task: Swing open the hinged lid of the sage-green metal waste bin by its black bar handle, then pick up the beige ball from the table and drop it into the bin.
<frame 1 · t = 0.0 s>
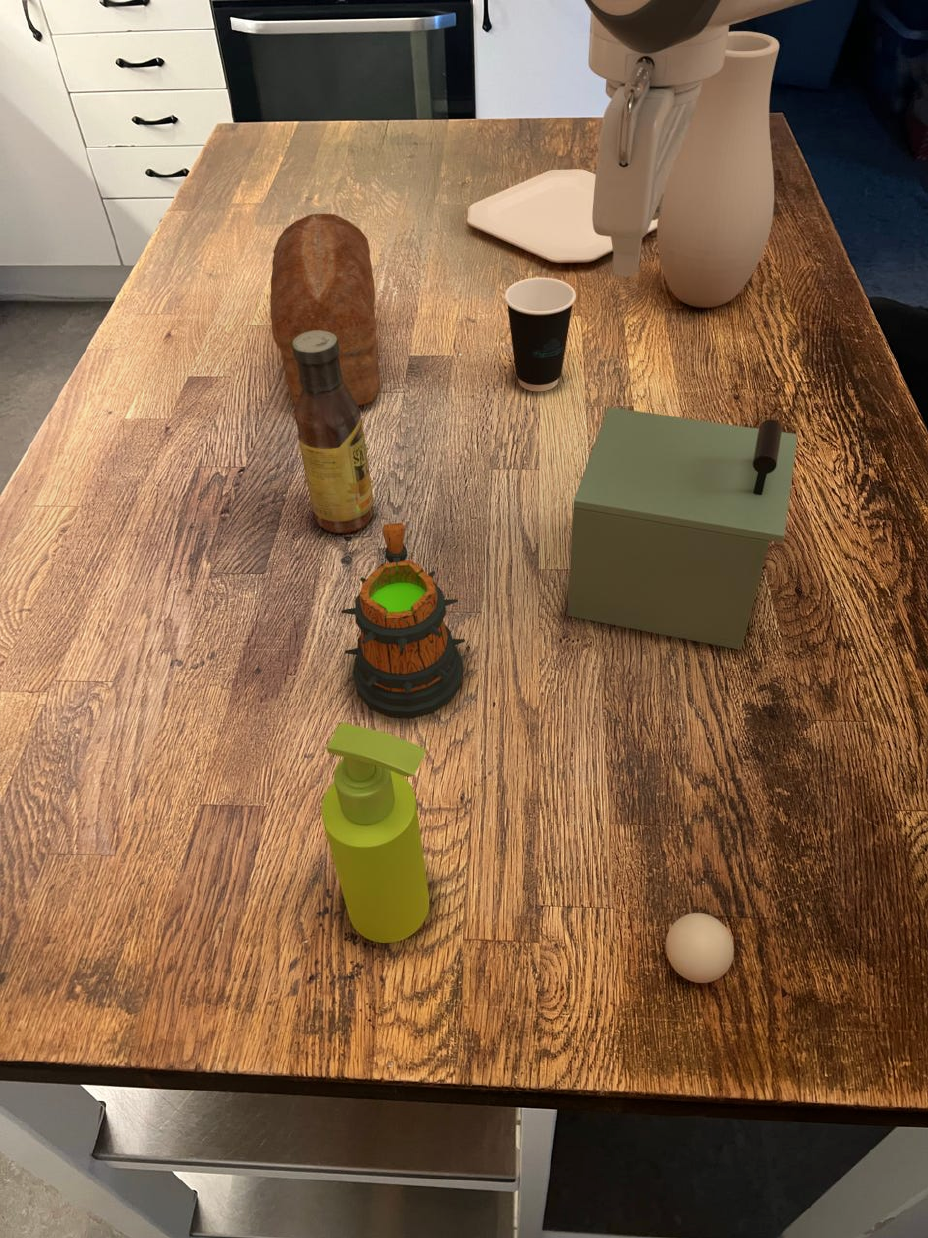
hand: (638, 242, 72), 30 cm above the kitchen island, tool pointing down, fingers open, 8 cm apart
bread: (334, 357, 120), on the kitchen island
vase: (702, 299, 126), on the kitchen island
soap dispenser: (395, 907, 69), on the kitchen island
mug: (407, 663, 85), on the kitchen island
dixie cup: (538, 381, 115), on the kitchen island
bin: (664, 581, 90), on the kitchen island
plate: (568, 226, 142), on the kitchen island
beige ball: (699, 947, 64), point 2 cm above the kitchen island
sauce bottle: (345, 517, 99), on the kitchen island
bin lid: (691, 450, 79), point 15 cm above the kitchen island, hinge at 0.0°
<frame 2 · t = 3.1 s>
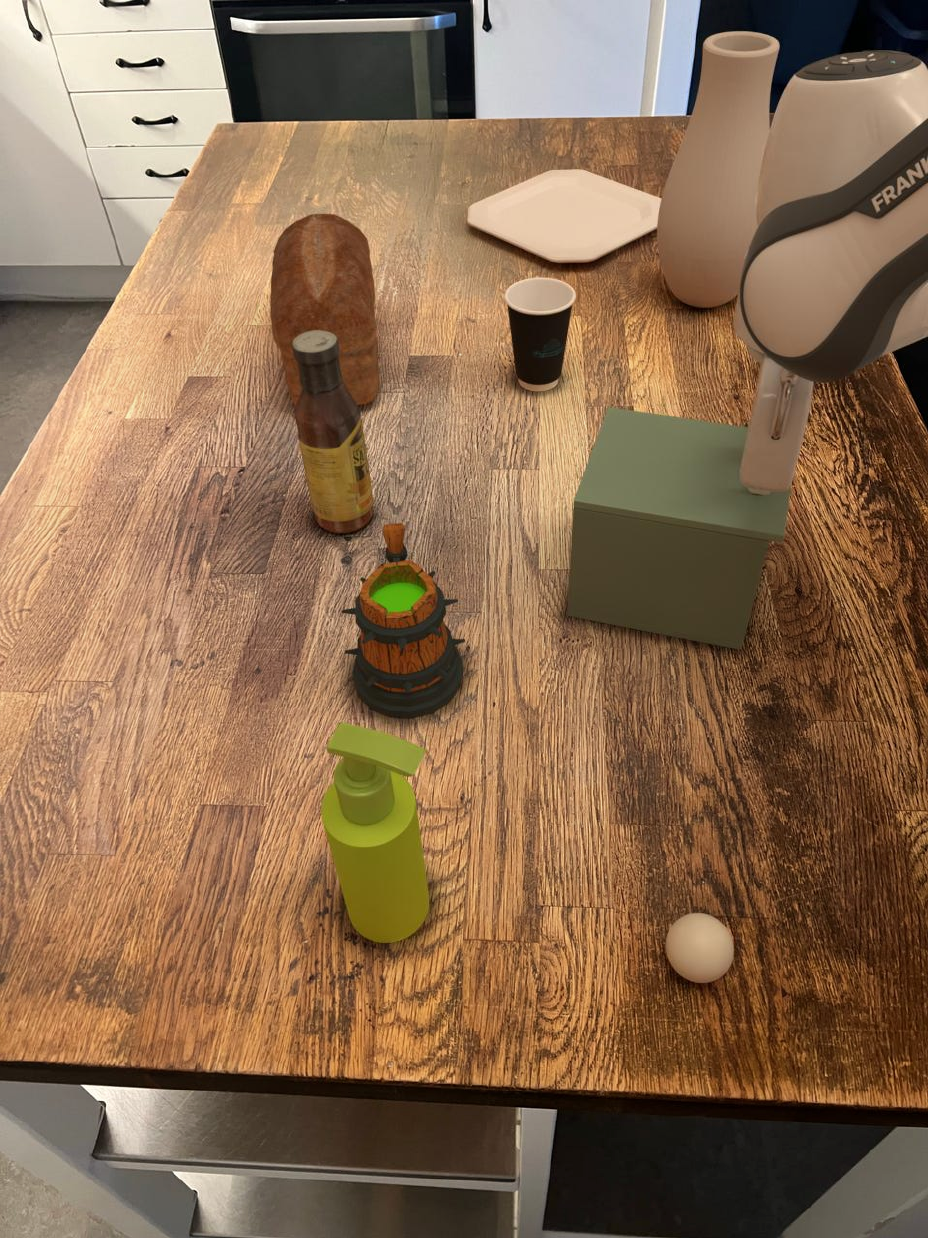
hand: (763, 464, 78), 15 cm above the kitchen island, tool pointing down, fingers closed on bin lid, 5 cm apart
bin lid: (691, 450, 79), point 15 cm above the kitchen island, hinge at 0.0°, touching gripper
everything else where it was.
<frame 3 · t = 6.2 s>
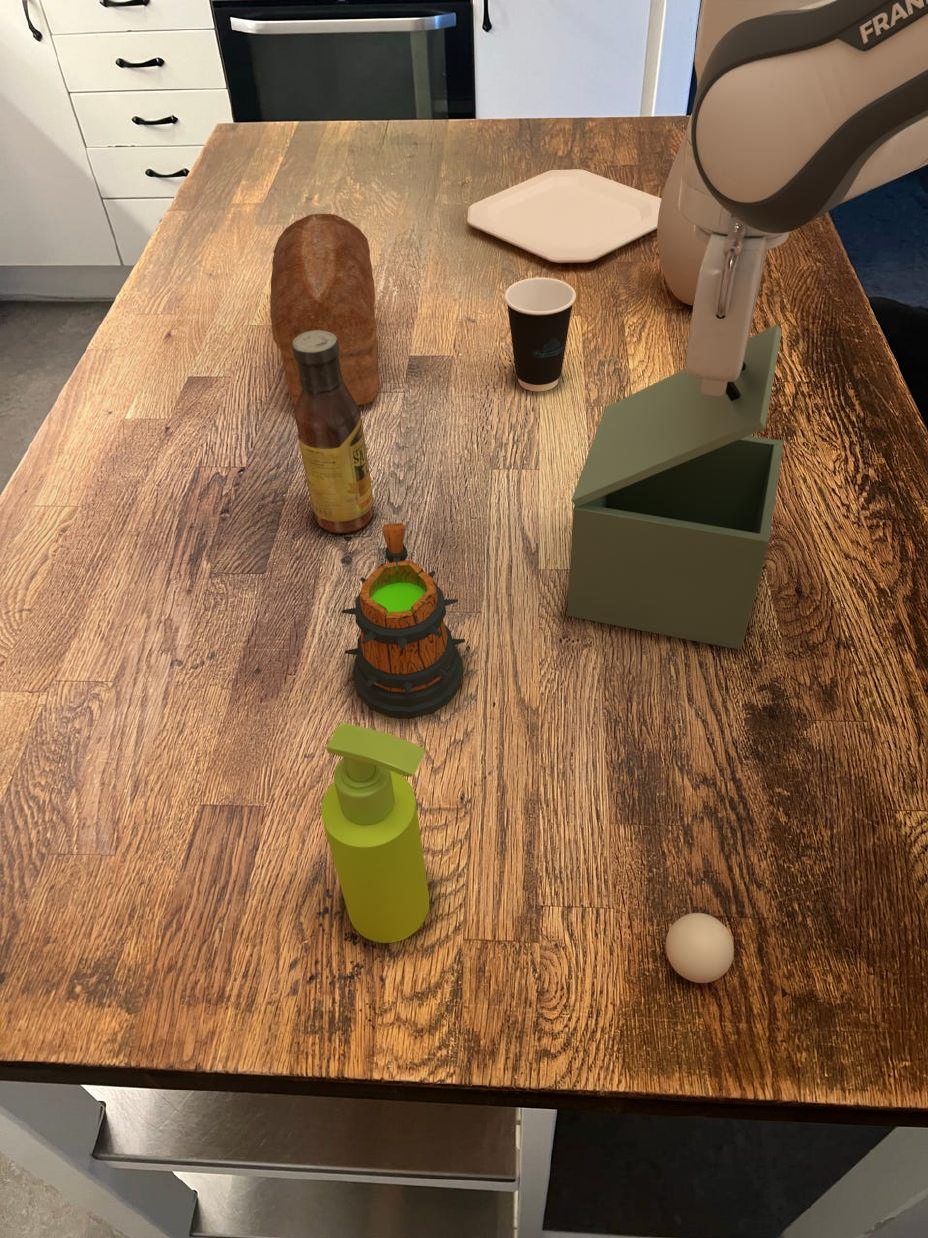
hand: (719, 367, 73), 23 cm above the kitchen island, tool pointing down, fingers closed on bin lid, 5 cm apart
bin lid: (662, 397, 76), point 20 cm above the kitchen island, hinge at 37.4°, touching gripper
everything else where it was.
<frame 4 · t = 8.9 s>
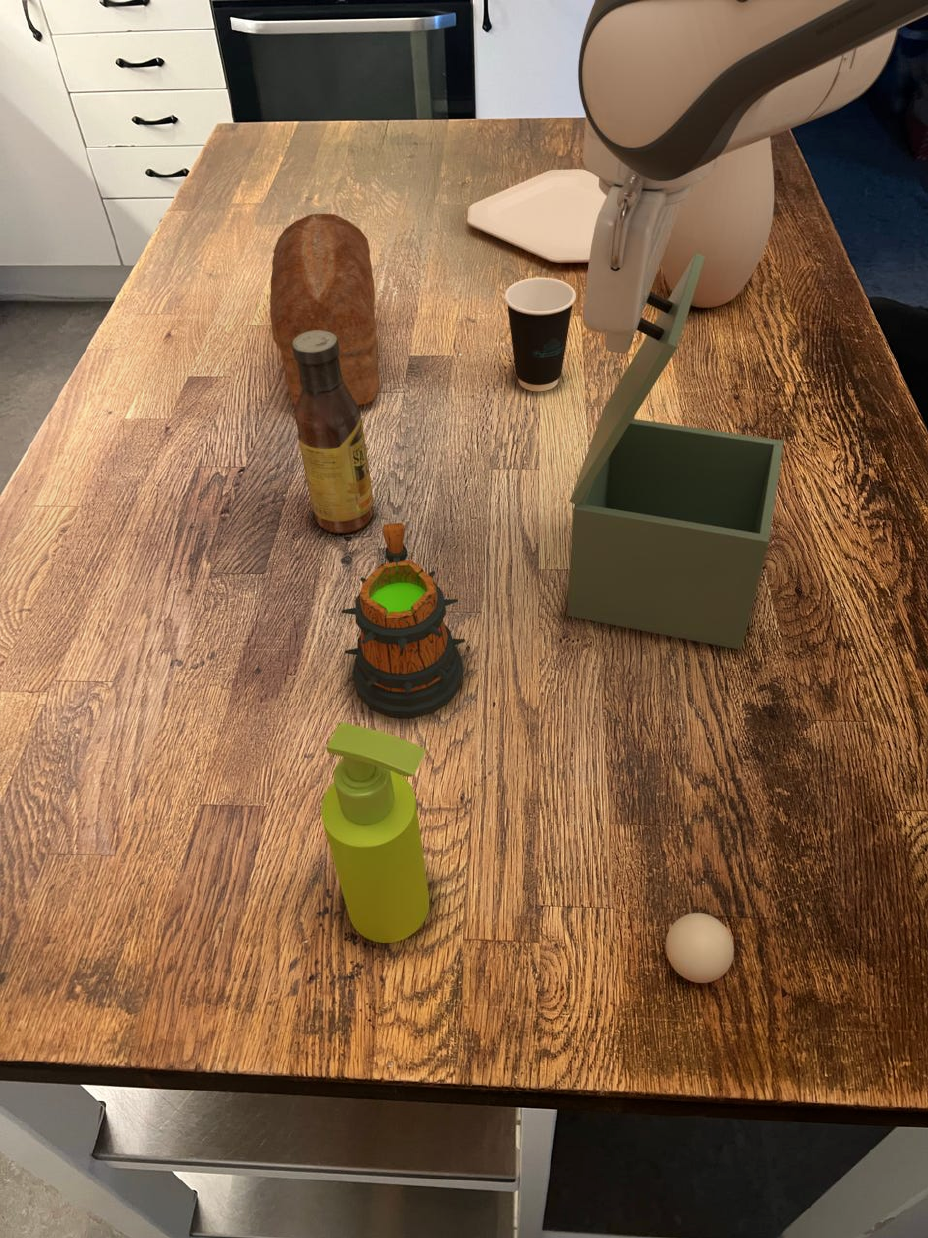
hand: (627, 325, 73), 26 cm above the kitchen island, tool pointing down, fingers closed on bin lid, 5 cm apart
bin lid: (613, 370, 76), point 22 cm above the kitchen island, hinge at 68.0°, touching gripper
everything else where it was.
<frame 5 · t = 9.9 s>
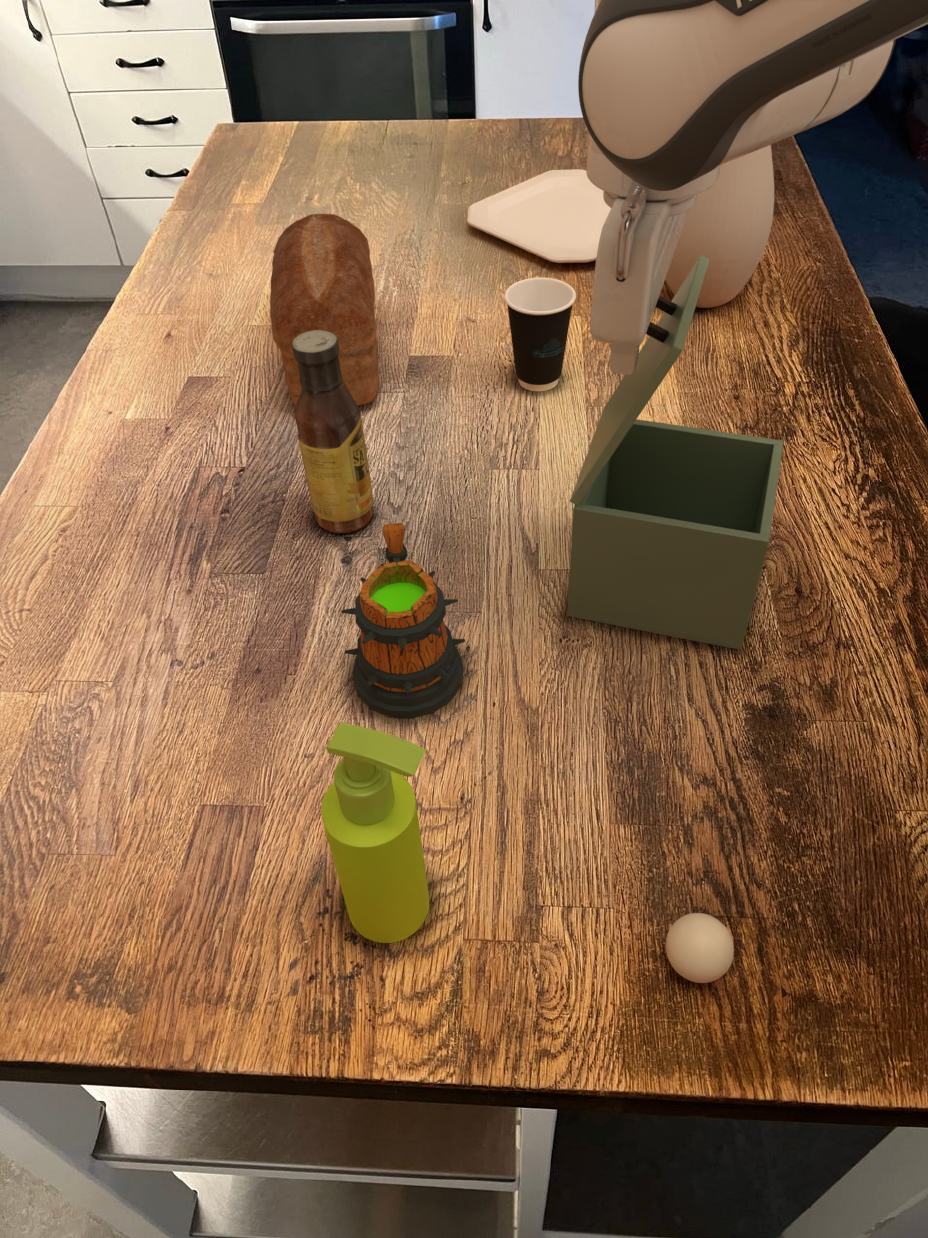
hand: (635, 336, 73), 25 cm above the kitchen island, tool pointing down, fingers open, 8 cm apart
bin lid: (615, 371, 76), point 22 cm above the kitchen island, hinge at 66.6°
everything else where it was.
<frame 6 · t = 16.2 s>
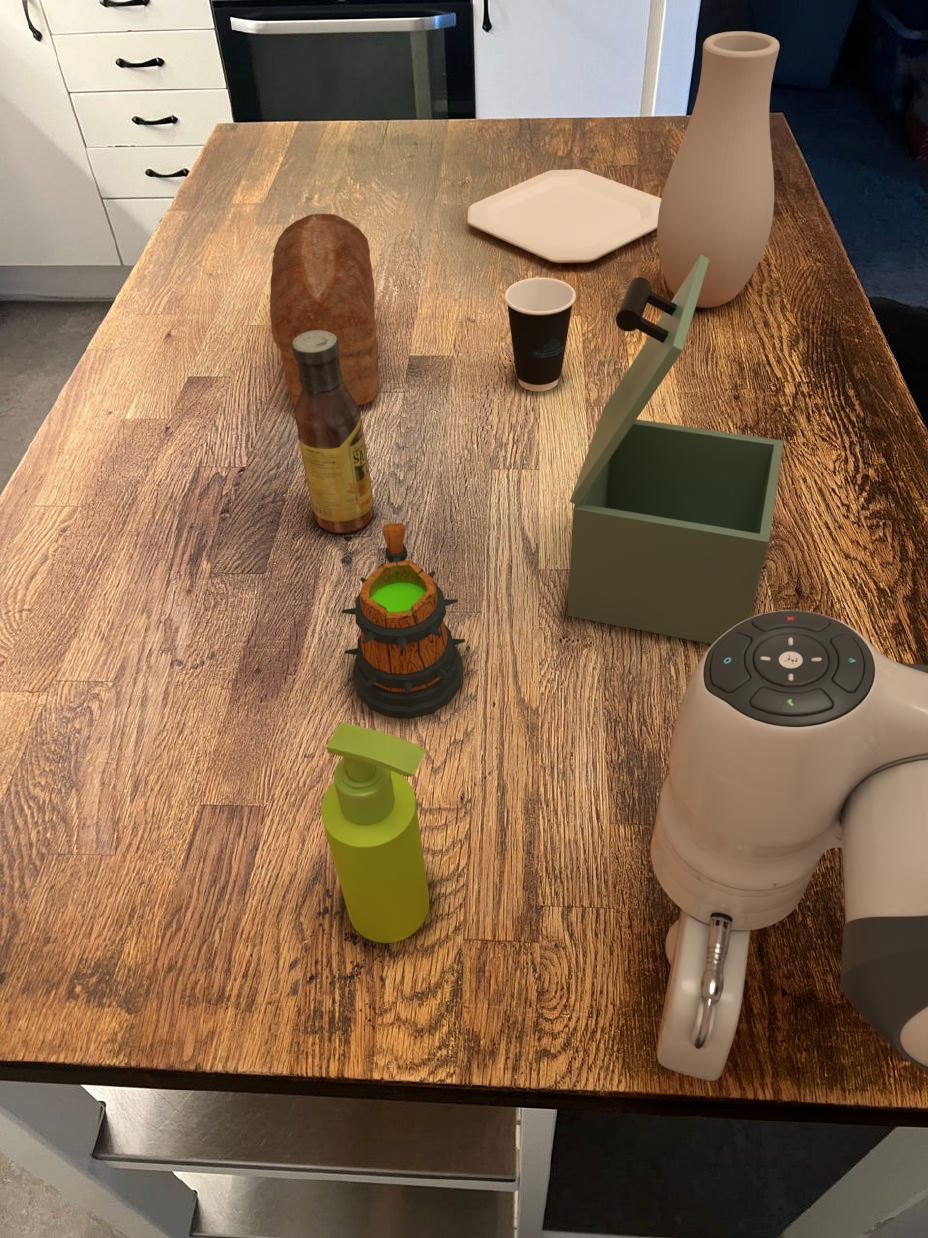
hand: (698, 951, 64), 2 cm above the kitchen island, tool pointing down, fingers closed on beige ball, 4 cm apart
beige ball: (699, 948, 64), point 2 cm above the kitchen island, touching gripper
everything else where it was.
when the fingers open (16 cm above the kitchen island, at t = 23.7 s): beige ball drops 14 cm, resting on bin.
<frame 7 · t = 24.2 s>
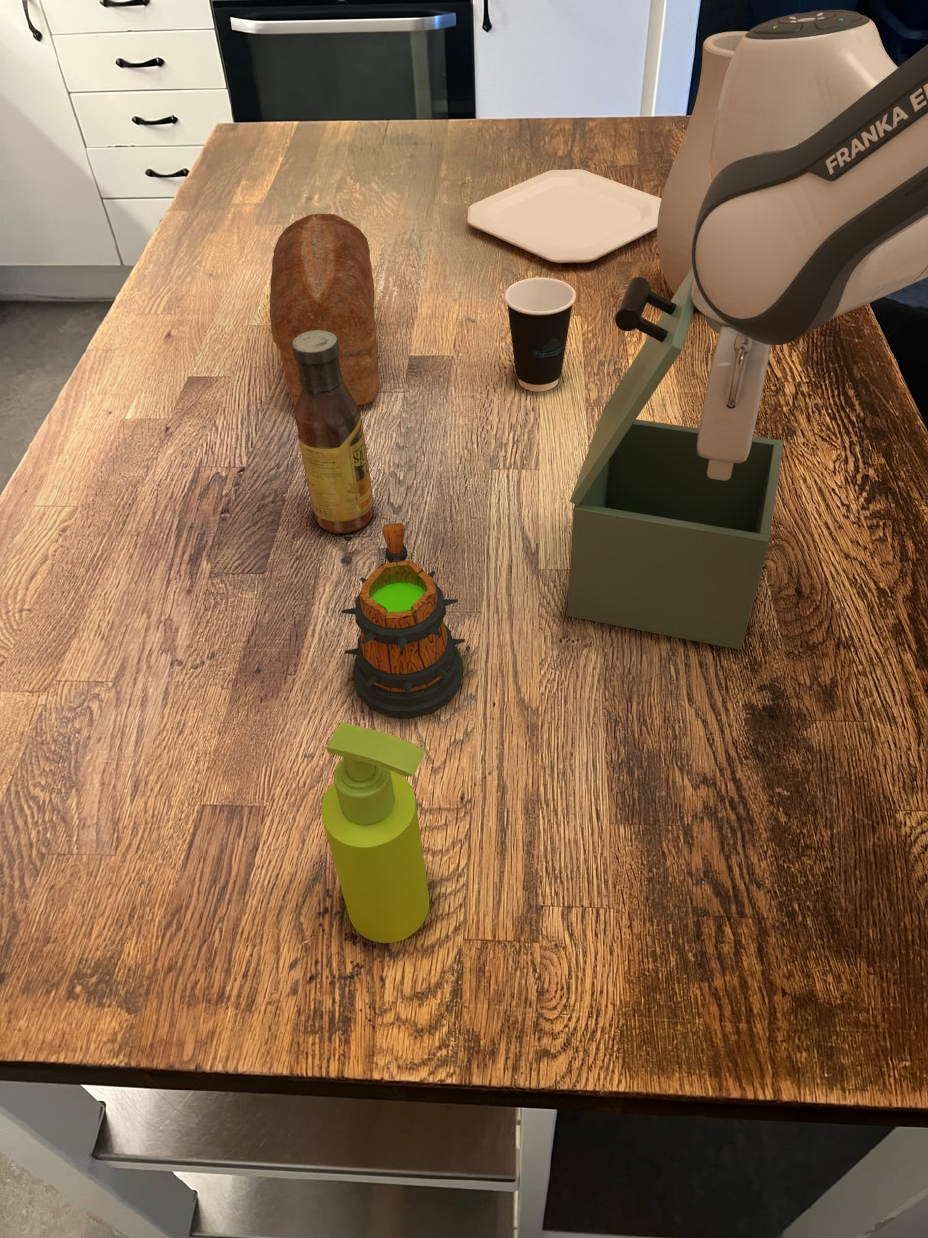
hand: (726, 438, 77), 17 cm above the kitchen island, tool pointing down, fingers open, 8 cm apart
beige ball: (698, 563, 88), point 3 cm above the kitchen island, touching bin
everything else where it was.
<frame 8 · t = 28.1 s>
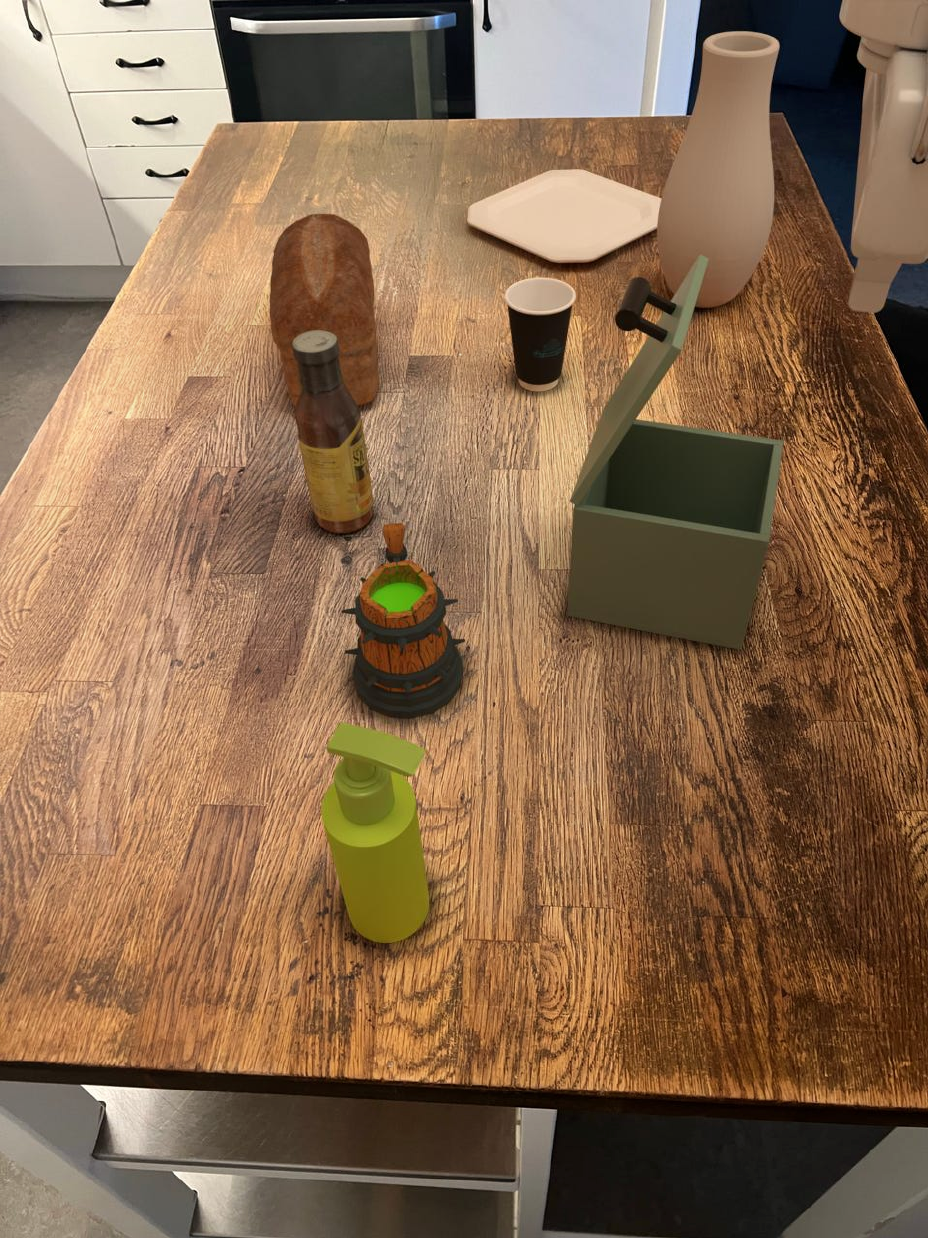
hand: (866, 264, 55), 37 cm above the kitchen island, tool pointing down, fingers open, 8 cm apart
beige ball: (698, 561, 88), point 3 cm above the kitchen island, tilted 6°, touching bin
everything else where it was.
at the end: bin lid at +67° (first picture: +0°); beige ball inside the target area in the bin (2.7 cm from its centre), point 3.0 cm above the bin's base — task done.
